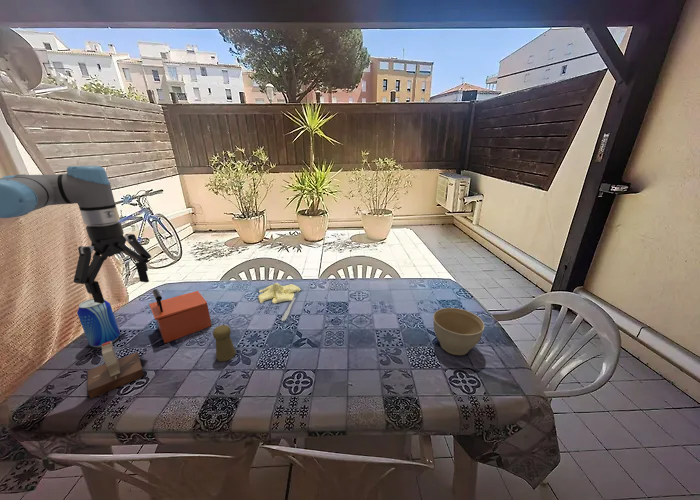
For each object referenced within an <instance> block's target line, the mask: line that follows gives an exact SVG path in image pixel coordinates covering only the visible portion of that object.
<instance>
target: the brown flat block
mask: <svg viewBox="0 0 700 500" xmlns="http://www.w3.org/2000/svg"><path fill="white" fill-rule="evenodd" d="M117 359H118V362H119V367H120V373H119V374H116V375H114V376H111V377H110V374H109V371H108V369H107V366H106V363H105V364H101V365H99V366H97V367H94V368H90V369H88V370H87V393H88V396H89V399H93V398H97V397H98V396H100V395H103V394H105V393H108V392H110V391H113V390H115V389H117V388H120V387H122V386H125V385H127V384H129V383H131V382H134V381H136V380H139V379H141V378H143V377H145V374H144V370H143V365H142V362H141V358H140V354H139V352H138V351H136V352H133V353H131V354H129V355H126V356H123V357H121V358H117Z"/></svg>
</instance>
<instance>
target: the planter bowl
mask: <svg viewBox="0 0 700 500" xmlns="http://www.w3.org/2000/svg"><path fill="white" fill-rule="evenodd" d="M432 316H433V317H432V318H433V319H432V321H433V331H434V334H435V337H436V339H437V341H438V342H439V345H440V347H441V348H442V350H443V351H445V352H447V353H448V354H451V355H454V356H464V355H466V354H468V353H469V352H470V350H472V349H474V348H475V347H476V345H478V343H479V342H480V340H481V338H482V337H483V333H484V330H485V323H484V321H483V319H481V317H480V316H478V315H477V314H476V313H473V312H471V311H469V310H466V309H462V308H457V307H444V308H439V309H438V310H436V311H435V312H434V314H433V315H432Z"/></svg>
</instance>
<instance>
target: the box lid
mask: <svg viewBox="0 0 700 500" xmlns="http://www.w3.org/2000/svg"><path fill="white" fill-rule="evenodd" d="M151 292H152V294H153V297H154V298H155V301H154V302H150V303H149V304H148V306H149V308H150V310H151V313H152V315H153V318H154V320H155V321H156V320H158V319H161V318H164V317H167V316H171V315H174V314H177V313H181V312H184V311H187V310H190V309H194V308H197V307H200V306H204V305H208V302H207V300H206V299H205V298H204V296H203V295H202V294H201V293H200V292H199V290H196V291H192V292H188V293H184V294H181V295H176V296H174V297H170V298H166V299H163V297H162V295H161V293H160V290H159V289H158V288H154V289H153V290H152V291H151Z"/></svg>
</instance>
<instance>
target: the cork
mask: <svg viewBox="0 0 700 500" xmlns="http://www.w3.org/2000/svg"><path fill="white" fill-rule="evenodd" d="M231 331H232V330H231V327H230V326H229V325H227V324H221V325H218V326H216V327H215V328H214V329H213V331H212V336H213V338H214V339H215V355H216V356H215V358H216V360H217V361H218V362H226V361H229V360H231V359H233V358H234V357H235V356H236V354H237V352H236V348H235V346H234V343H233V340H232V338H231V333H232V332H231Z"/></svg>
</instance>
